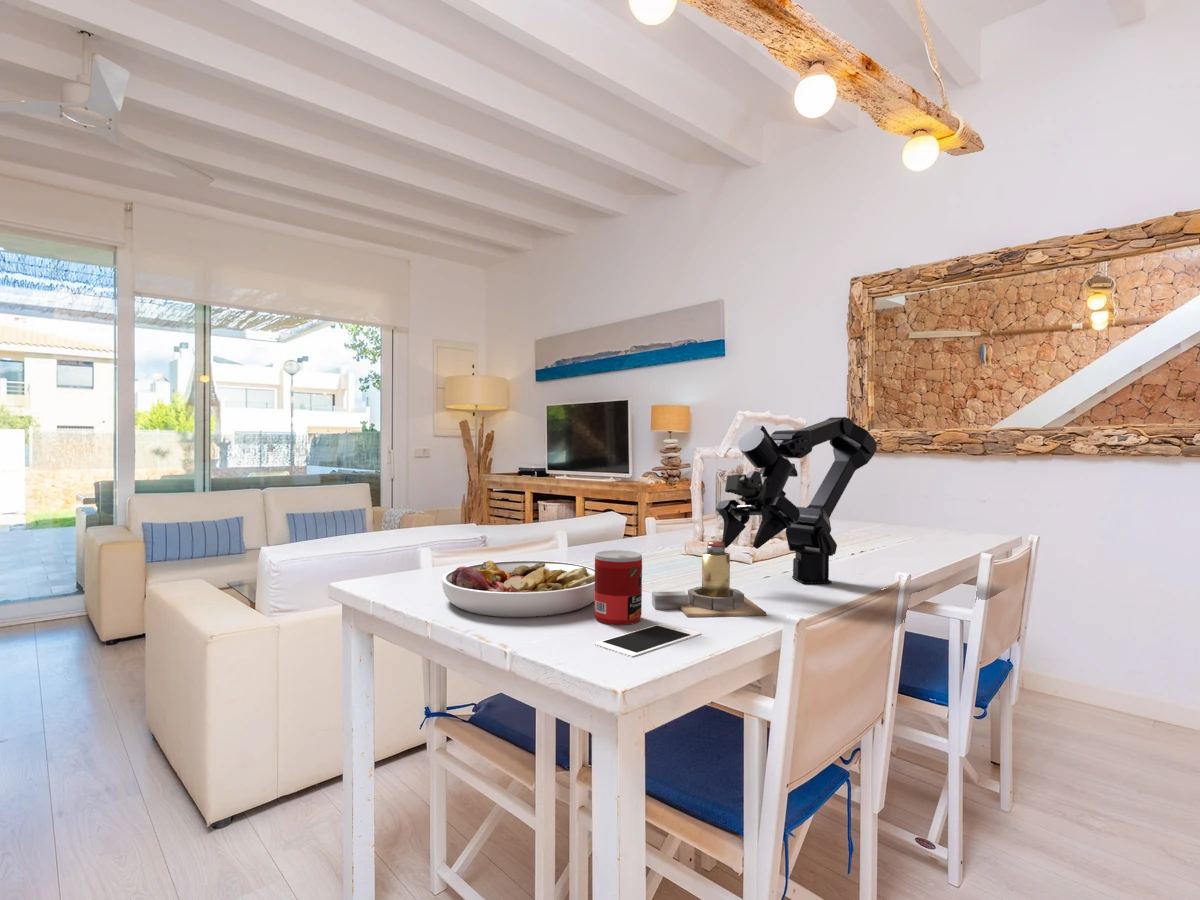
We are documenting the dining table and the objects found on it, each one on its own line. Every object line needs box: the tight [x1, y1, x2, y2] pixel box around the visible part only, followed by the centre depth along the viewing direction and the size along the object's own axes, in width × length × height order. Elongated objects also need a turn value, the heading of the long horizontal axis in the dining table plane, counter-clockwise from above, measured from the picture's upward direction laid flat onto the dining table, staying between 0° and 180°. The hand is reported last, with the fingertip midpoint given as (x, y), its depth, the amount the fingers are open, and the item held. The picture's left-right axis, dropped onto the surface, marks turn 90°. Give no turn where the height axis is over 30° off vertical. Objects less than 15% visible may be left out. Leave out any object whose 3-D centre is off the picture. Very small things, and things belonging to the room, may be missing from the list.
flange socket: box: [651, 586, 767, 618], centre depth 118 cm, size 18×14×2 cm
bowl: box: [441, 560, 595, 618], centre depth 122 cm, size 30×30×8 cm
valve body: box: [701, 540, 731, 597], centre depth 118 cm, size 5×5×11 cm
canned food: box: [594, 549, 643, 626], centre depth 109 cm, size 8×8×11 cm
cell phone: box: [594, 622, 702, 657], centre depth 98 cm, size 8×16×1 cm, turn 135°
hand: (739, 547), depth 126 cm, fingers open, 9 cm apart
